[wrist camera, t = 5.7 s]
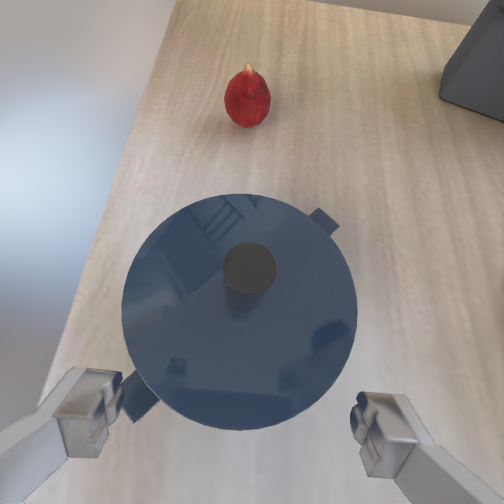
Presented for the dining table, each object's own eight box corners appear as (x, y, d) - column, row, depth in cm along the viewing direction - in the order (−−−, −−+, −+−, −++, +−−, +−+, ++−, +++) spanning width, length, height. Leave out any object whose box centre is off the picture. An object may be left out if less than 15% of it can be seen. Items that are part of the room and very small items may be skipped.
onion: (273, 121, 37) (285, 63, 29) (252, 147, 35) (259, 91, 27) (239, 103, 37) (242, 42, 30) (216, 127, 35) (213, 68, 28)
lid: (391, 301, 19) (470, 277, 13) (236, 493, 14) (242, 603, 8) (247, 170, 22) (254, 99, 16) (81, 290, 17) (-1, 255, 11)
